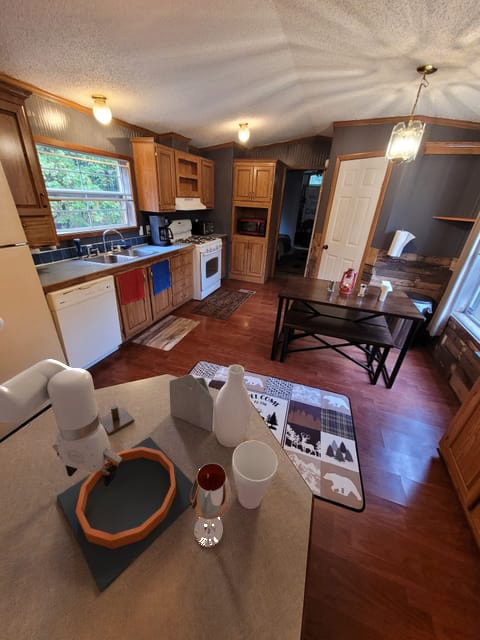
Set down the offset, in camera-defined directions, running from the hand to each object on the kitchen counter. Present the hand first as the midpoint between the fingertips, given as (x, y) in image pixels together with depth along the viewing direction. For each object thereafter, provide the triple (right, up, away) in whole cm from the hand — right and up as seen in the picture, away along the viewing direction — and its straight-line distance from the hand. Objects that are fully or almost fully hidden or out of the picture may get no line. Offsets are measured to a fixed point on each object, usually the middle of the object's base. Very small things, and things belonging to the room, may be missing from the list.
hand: (92, 475), depth 61 cm
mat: (+10, -5, 0) cm, 11 cm away
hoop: (+9, -4, 0) cm, 10 cm away
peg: (-4, +5, +20) cm, 21 cm away
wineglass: (+29, -9, -5) cm, 31 cm away
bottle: (+33, +1, +19) cm, 38 cm away
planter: (+21, +5, +25) cm, 33 cm away
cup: (+38, -7, +2) cm, 39 cm away
